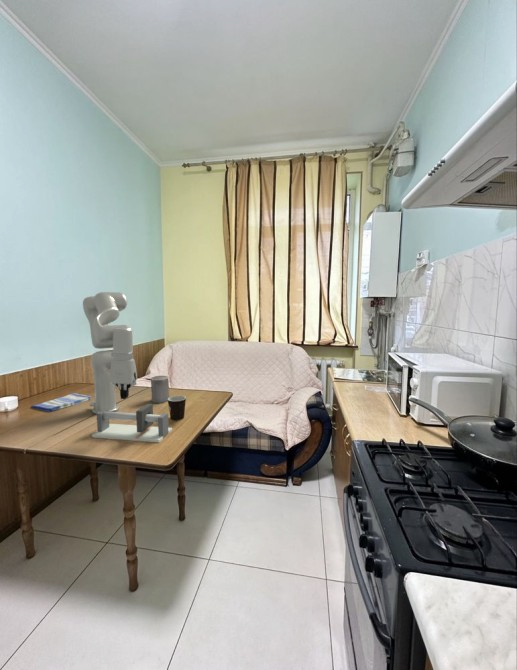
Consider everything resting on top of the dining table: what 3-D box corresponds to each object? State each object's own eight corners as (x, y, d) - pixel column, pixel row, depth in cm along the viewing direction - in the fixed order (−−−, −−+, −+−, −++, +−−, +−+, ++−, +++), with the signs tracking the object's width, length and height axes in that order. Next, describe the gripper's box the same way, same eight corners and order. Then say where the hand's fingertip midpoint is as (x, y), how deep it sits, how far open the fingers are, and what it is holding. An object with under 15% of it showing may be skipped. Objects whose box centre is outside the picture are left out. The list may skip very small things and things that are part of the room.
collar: (136, 432, 121) (136, 411, 120) (148, 423, 130) (147, 403, 129) (142, 432, 121) (141, 411, 120) (153, 423, 130) (152, 404, 129)
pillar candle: (160, 396, 177) (159, 372, 175) (172, 399, 173) (171, 374, 171) (148, 401, 168) (146, 376, 167) (160, 404, 164) (159, 378, 162)
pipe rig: (92, 437, 123) (90, 416, 122) (110, 425, 135) (109, 406, 134) (159, 442, 119) (158, 420, 118) (171, 429, 131) (171, 410, 130)
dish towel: (92, 400, 172) (92, 395, 172) (50, 413, 151) (50, 408, 150) (73, 396, 179) (72, 391, 179) (30, 408, 158) (29, 403, 157)
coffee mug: (170, 415, 148) (169, 395, 147) (187, 414, 149) (187, 395, 148) (165, 424, 137) (164, 403, 136) (183, 423, 137) (183, 403, 136)
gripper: (101, 357, 121) (102, 399, 124) (134, 359, 119) (135, 402, 122) (112, 353, 129) (114, 393, 131) (144, 355, 126) (145, 396, 129)
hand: (124, 397), depth 126 cm, fingers closed
